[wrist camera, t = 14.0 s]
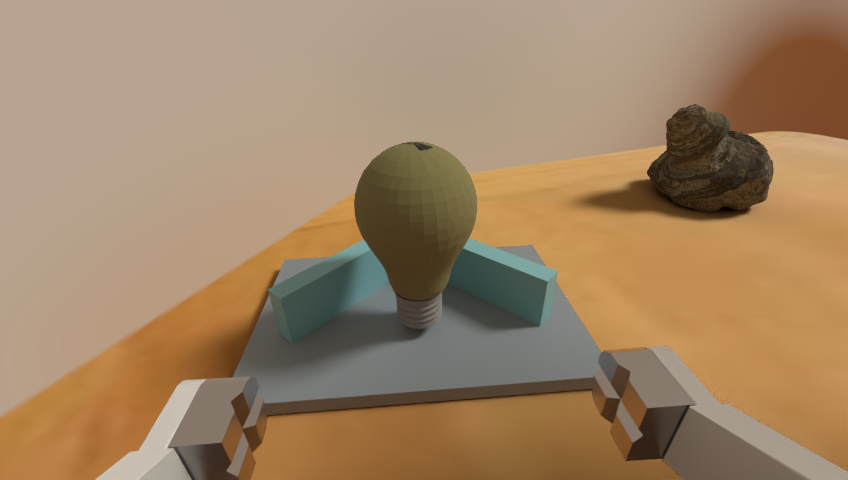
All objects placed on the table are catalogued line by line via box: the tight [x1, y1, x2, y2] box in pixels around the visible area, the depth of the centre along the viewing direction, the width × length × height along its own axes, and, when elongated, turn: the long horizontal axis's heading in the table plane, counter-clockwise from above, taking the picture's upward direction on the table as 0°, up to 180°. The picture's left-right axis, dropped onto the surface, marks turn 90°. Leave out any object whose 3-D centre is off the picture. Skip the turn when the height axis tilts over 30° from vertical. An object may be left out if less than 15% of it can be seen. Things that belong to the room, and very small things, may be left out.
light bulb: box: [354, 142, 477, 329], centre depth 19 cm, size 6×6×10 cm
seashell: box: [647, 104, 773, 212], centre depth 35 cm, size 11×12×10 cm
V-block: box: [233, 238, 601, 415], centre depth 22 cm, size 18×12×4 cm, turn 94°
